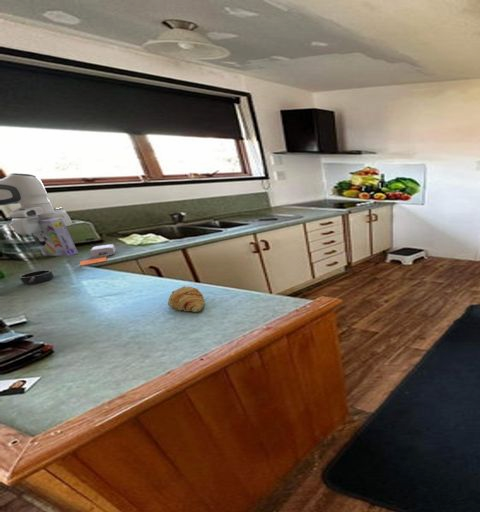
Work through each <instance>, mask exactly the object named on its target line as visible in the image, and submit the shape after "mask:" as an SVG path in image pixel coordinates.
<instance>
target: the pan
mask: <svg viewBox="0 0 480 512" xmlns="http://www.w3.org/2000/svg"><path fill="white" fill-rule="evenodd" d="M32 277H36V279H35V280H34V282H33V283H29V281H30V279H31V278H32ZM54 278H55V276H54V273H53V272H52V270H50V269H42V270H36V271H31V272H28V273H24V274H22V275H20V276H19V279H20V281H21V284H23V285H26V284H27V285H36V283H37V284H41V283H44V282H48V281H50V280H53V279H54Z"/></svg>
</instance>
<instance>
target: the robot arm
mask: <svg viewBox="0 0 480 512" xmlns="http://www.w3.org/2000/svg"><path fill="white" fill-rule="evenodd" d="M17 204H20V207H19V208H16V209H15V210H12V211H10V212H8V215H9V217H10V218H11V224H12V227H13V230H14V232H15V233H16V234H18V235H21V236H24V235H32V233H33V235H34V236H36V237H37V238H39V241H47V239H46V237H43V236H42V235H40V234H41V231H44V230H43V228H42V226H41V224H40V223H39V220H43V219H48V218H53V219H62V220H63V222H64V224H65V226H66V227H69V226H72V225H73V221H72V219H71V217H70V216H69V214H68V212H67V211H66V209H64V208H62V207H60V206H58V207H53V204H52V202H51V201H50V199H49V198H48V192H47V190H46V187H45V186H44V184H43V182H42V180H41V179H40V178H39V177H38V176H36V175H33V174H29V173H18V172H17V173H16V172H15V173H14V172H13V173H10V174H8V175H7V176H4V177H2V178H1V177H0V206H7V205H8V206H9V205H17Z"/></svg>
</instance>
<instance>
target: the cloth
mask: <svg viewBox="0 0 480 512" xmlns="http://www.w3.org/2000/svg"><path fill="white" fill-rule="evenodd" d="M107 257H108V256H103V257H97V258H90V259H84V260H80V262H79V266H78V267H82V266H81V265H84V266H88V265H87V264H89V265H94V264H100V263H105V262H107Z"/></svg>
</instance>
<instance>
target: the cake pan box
mask: <svg viewBox="0 0 480 512" xmlns="http://www.w3.org/2000/svg"><path fill="white" fill-rule="evenodd" d="M39 223H40V224H41V226H42V228H43V230H44V231H41V234H40V235H42V236H43V237H46V239H47V241H39V238H37V237H36V236H34V235H33V233H31V235H32V237H33V239H34V241H35V243H36V244H37V245H38V247H39V251H40V252H41V254H42V255H43V256H53V257H54V256H55V257H71V256H76V255H79V251H78V249H77V247H76V245H75V243H74V240H73V238H72V237H71V234H70V232H69V230H68V228H67V226H65V224H64V222H63V220H62V219H53V218H48V219H43V220H39Z"/></svg>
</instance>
